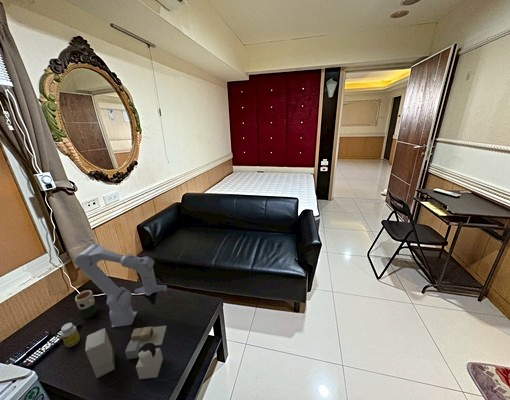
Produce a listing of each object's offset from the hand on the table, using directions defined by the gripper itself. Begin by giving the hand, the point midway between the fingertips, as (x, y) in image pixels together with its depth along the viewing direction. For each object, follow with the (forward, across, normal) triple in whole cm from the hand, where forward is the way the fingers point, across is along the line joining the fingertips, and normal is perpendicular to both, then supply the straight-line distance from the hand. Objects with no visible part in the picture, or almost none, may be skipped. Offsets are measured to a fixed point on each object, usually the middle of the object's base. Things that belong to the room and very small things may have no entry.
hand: (153, 302), depth 107 cm
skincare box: (+11, -15, -21) cm, 28 cm away
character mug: (+11, -37, +9) cm, 40 cm away
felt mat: (+10, -2, -10) cm, 15 cm away
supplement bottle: (+11, -36, -7) cm, 38 cm away
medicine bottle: (+11, +5, -26) cm, 28 cm away
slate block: (+10, -5, -18) cm, 21 cm away
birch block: (+8, 0, -10) cm, 13 cm away
